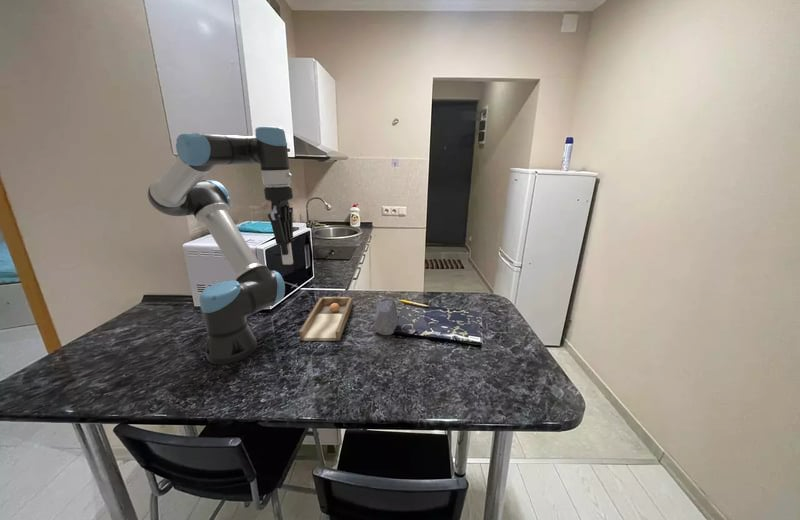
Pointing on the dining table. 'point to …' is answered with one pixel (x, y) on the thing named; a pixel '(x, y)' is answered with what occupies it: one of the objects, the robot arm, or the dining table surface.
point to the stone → (386, 317)
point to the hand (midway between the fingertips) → (288, 263)
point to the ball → (334, 307)
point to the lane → (326, 320)
